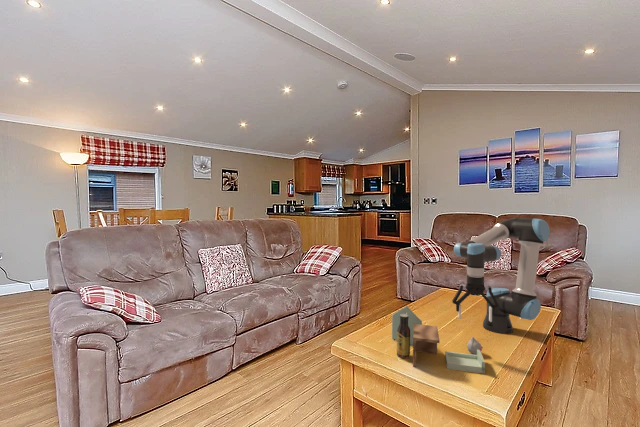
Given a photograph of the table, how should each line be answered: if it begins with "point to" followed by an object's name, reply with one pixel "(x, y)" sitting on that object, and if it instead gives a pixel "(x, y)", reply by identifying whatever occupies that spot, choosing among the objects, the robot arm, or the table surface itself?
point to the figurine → (474, 346)
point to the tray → (465, 362)
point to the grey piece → (411, 321)
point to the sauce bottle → (403, 337)
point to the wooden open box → (424, 340)
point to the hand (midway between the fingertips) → (474, 319)
